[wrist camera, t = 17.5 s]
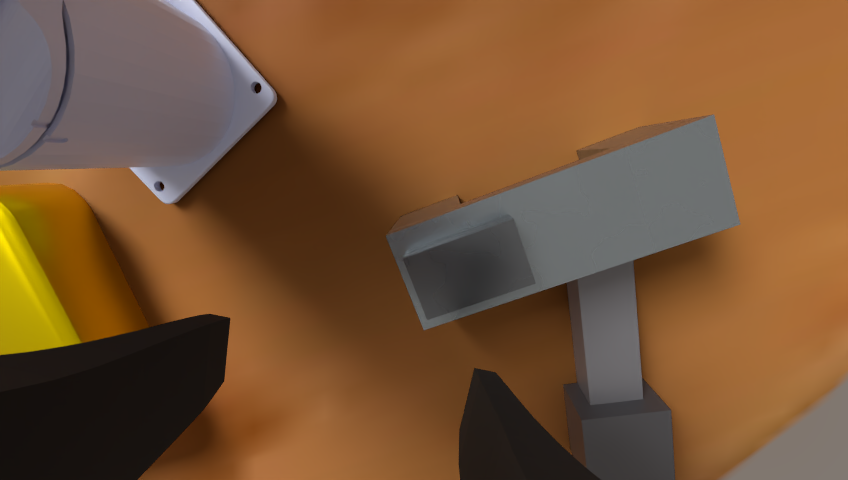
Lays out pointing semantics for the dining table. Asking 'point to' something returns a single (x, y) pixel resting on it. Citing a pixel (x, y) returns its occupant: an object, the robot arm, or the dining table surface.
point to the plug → (613, 384)
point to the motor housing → (566, 220)
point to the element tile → (58, 273)
